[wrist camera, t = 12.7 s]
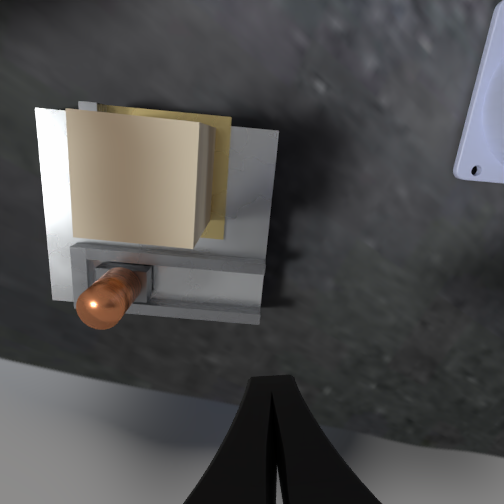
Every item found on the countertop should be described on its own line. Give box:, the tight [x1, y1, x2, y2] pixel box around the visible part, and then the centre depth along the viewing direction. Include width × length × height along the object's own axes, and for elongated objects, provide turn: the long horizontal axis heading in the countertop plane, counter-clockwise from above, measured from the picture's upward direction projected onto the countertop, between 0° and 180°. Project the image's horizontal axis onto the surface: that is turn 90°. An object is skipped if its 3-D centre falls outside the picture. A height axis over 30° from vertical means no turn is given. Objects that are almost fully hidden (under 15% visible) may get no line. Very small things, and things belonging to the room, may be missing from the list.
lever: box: [76, 262, 152, 330], centre depth 17 cm, size 3×2×4 cm
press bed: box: [35, 101, 279, 325], centre depth 18 cm, size 12×10×2 cm
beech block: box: [65, 108, 216, 249], centre depth 15 cm, size 4×4×5 cm
